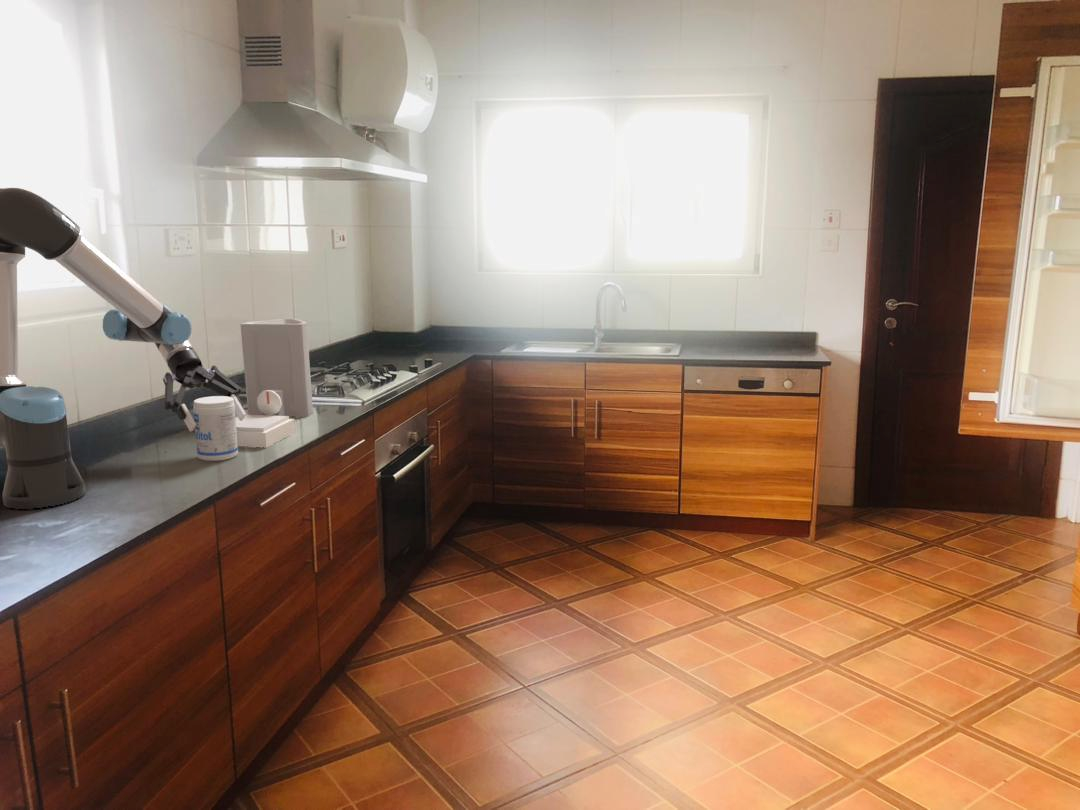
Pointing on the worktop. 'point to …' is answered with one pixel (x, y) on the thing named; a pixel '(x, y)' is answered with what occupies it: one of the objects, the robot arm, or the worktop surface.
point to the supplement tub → (215, 428)
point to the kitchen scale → (265, 422)
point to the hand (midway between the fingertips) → (218, 422)
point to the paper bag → (277, 364)
